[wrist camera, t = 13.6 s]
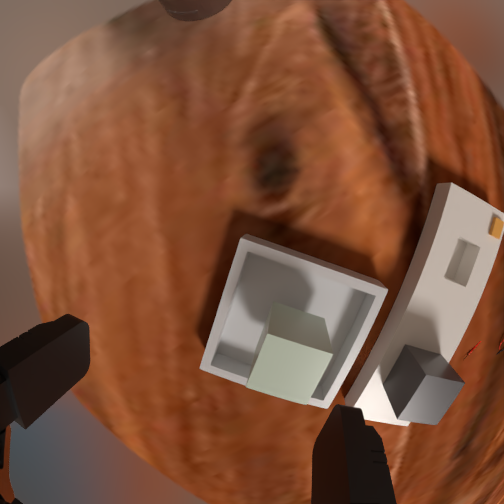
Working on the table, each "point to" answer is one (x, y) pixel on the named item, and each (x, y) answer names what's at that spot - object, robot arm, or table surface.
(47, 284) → the table surface
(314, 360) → the block
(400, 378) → the block
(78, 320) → the robot arm
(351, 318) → the tray
